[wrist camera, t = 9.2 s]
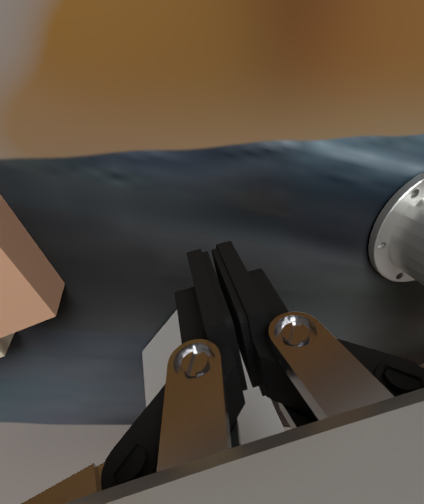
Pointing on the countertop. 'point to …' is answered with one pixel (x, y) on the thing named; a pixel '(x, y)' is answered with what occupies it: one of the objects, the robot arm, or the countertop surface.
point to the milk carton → (256, 406)
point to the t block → (24, 277)
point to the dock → (5, 344)
